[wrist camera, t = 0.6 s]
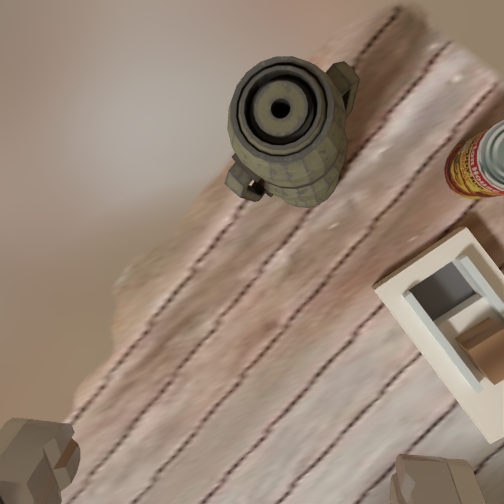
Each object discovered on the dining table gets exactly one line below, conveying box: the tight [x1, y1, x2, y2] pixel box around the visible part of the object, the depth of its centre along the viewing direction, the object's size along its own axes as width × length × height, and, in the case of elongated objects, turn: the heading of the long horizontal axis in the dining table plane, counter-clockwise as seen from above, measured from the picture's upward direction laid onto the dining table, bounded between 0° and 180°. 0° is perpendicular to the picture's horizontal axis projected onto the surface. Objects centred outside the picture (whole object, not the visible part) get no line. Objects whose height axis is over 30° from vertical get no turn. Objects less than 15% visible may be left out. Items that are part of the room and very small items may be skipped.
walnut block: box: [455, 317, 504, 385], centre depth 49 cm, size 5×5×5 cm
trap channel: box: [372, 227, 504, 444], centre depth 52 cm, size 25×14×5 cm, turn 37°
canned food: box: [444, 119, 504, 199], centre depth 47 cm, size 8×8×12 cm
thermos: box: [224, 56, 360, 208], centre depth 40 cm, size 9×12×35 cm
